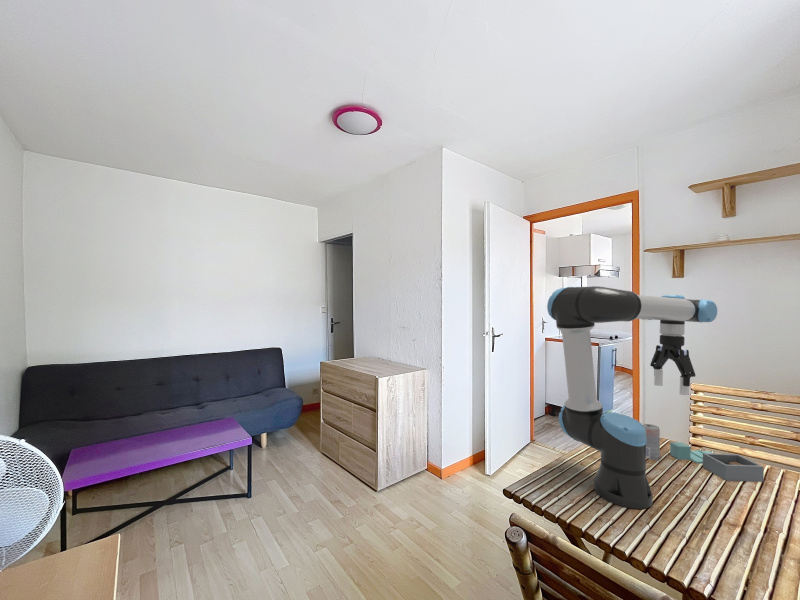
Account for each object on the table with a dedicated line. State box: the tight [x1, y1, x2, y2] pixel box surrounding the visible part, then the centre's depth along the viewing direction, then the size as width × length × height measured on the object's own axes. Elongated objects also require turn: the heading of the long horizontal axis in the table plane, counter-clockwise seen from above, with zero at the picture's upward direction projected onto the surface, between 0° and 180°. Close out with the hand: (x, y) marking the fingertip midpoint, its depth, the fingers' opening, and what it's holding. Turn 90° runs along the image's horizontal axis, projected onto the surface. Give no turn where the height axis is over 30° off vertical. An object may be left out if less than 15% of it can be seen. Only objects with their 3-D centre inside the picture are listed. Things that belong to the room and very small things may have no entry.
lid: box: [669, 441, 715, 465], centre depth 129 cm, size 17×9×6 cm, turn 87°
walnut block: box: [728, 462, 742, 465], centre depth 118 cm, size 3×3×3 cm
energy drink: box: [642, 423, 661, 460], centre depth 129 cm, size 5×5×12 cm
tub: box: [702, 453, 765, 483], centre depth 117 cm, size 12×9×6 cm
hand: (670, 389), depth 131 cm, fingers open, 13 cm apart
